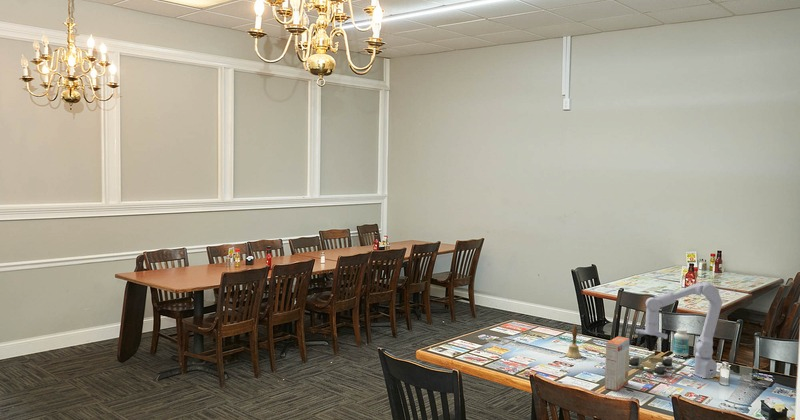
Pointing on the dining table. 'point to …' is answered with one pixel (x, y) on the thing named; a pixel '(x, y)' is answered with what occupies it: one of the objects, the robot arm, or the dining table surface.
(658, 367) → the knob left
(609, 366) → the cracker box
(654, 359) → the knob
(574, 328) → the hand bell
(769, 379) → the dining table surface
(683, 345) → the pill bottle
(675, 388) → the dining table surface
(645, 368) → the levelling base
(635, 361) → the knob
